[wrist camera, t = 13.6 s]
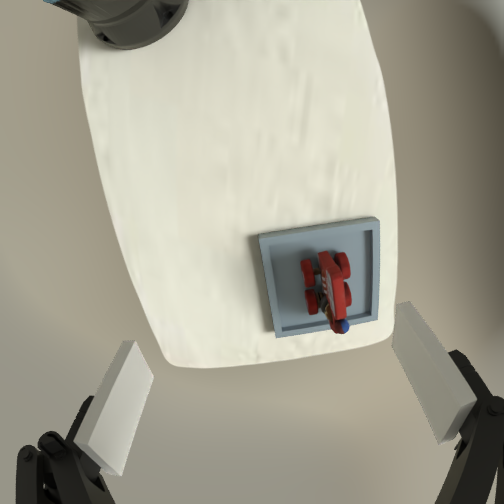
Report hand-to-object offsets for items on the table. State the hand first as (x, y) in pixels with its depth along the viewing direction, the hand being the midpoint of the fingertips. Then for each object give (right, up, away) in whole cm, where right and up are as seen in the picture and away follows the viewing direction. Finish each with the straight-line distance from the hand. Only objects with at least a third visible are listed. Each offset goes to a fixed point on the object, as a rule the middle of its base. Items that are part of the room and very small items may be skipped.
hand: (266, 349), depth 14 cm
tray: (+11, 0, +33) cm, 35 cm away
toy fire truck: (+11, +1, +32) cm, 34 cm away
